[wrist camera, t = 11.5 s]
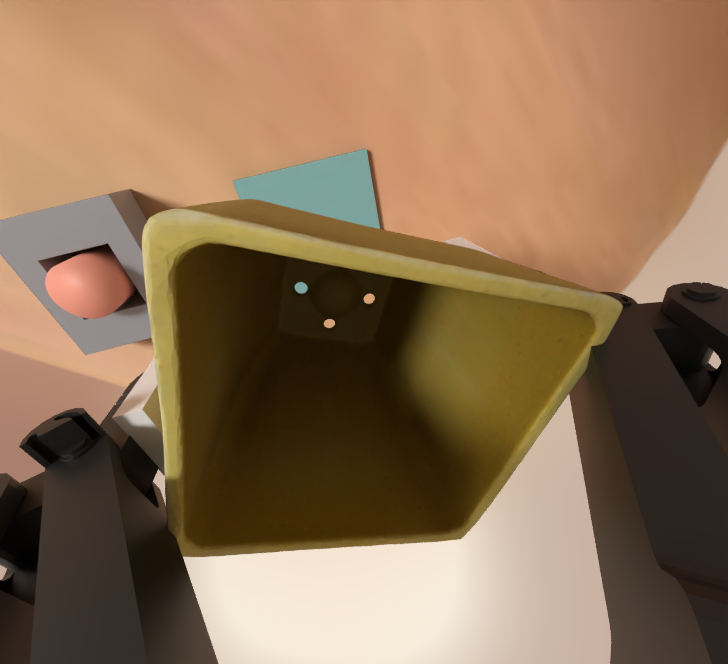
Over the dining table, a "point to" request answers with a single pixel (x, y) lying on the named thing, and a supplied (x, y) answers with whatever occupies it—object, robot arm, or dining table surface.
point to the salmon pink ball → (90, 283)
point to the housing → (73, 233)
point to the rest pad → (319, 190)
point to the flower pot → (346, 376)
